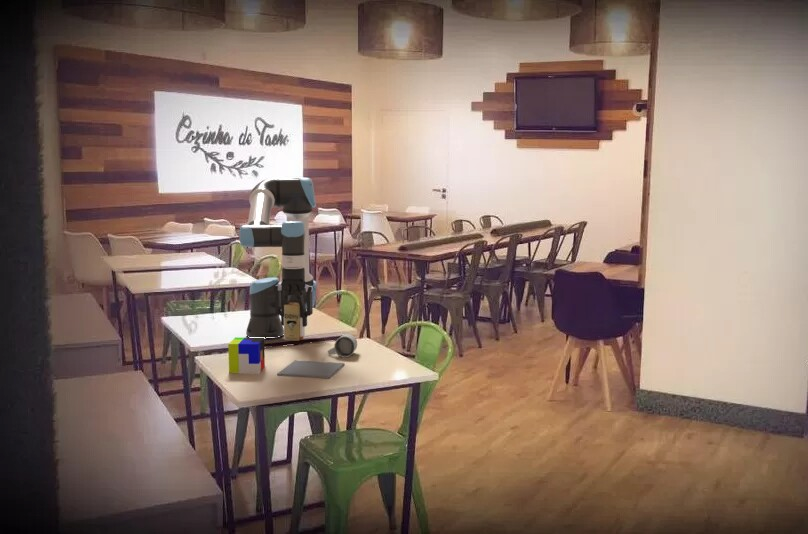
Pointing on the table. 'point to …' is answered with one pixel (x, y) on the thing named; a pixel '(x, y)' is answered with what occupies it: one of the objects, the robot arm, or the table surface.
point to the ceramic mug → (344, 346)
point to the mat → (311, 369)
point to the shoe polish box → (292, 321)
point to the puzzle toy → (246, 355)
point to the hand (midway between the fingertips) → (294, 335)
